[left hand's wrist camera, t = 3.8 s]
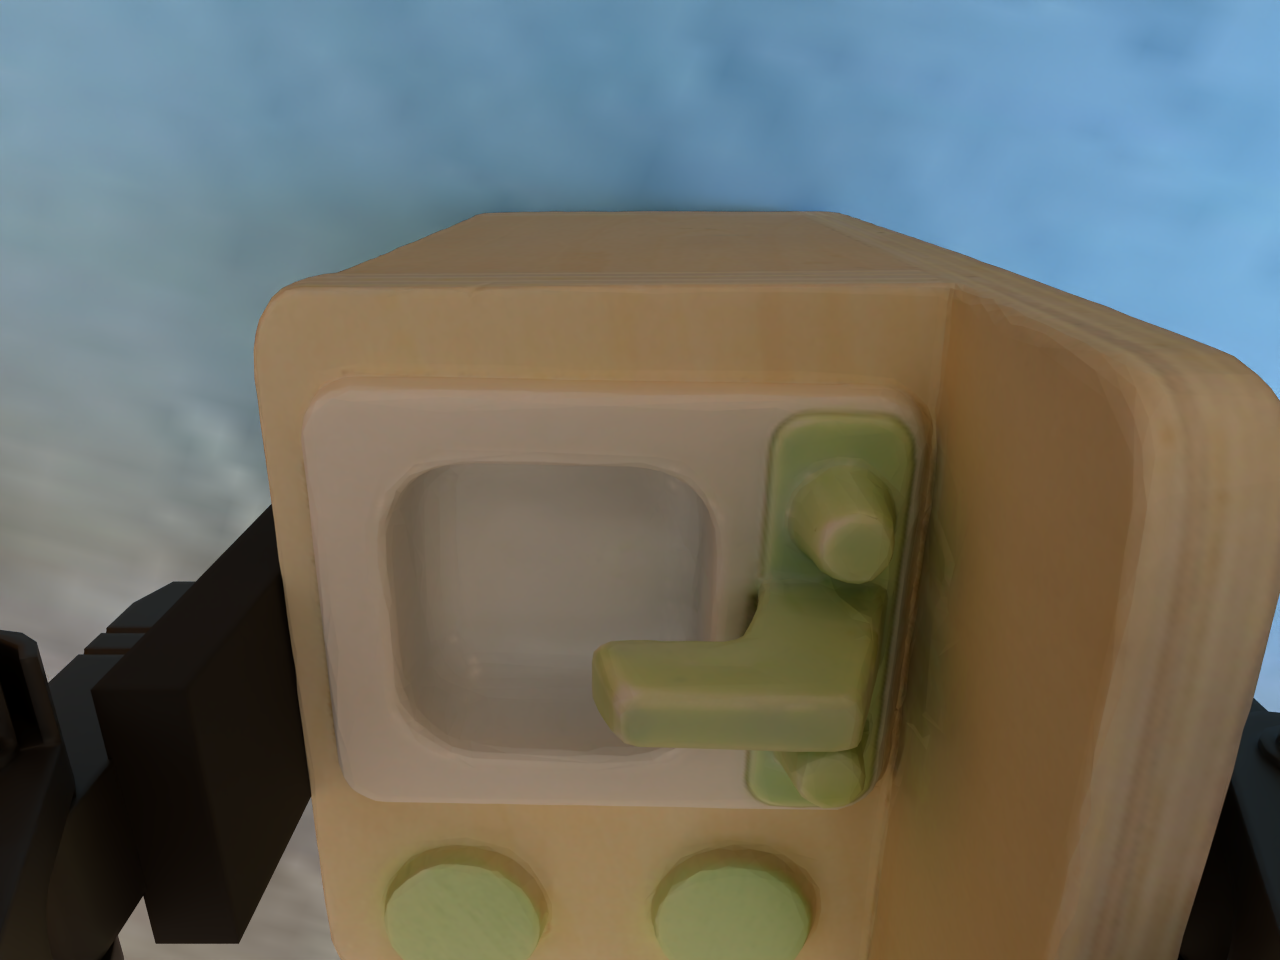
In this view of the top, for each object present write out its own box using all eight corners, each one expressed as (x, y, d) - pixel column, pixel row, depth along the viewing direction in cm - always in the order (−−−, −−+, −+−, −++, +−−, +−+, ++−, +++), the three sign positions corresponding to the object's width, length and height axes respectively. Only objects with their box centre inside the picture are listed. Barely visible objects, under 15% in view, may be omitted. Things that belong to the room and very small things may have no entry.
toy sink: (441, 198, 17) (-94, 394, 5) (839, 198, 17) (1370, 396, 5) (472, 607, 20) (202, 1374, 8) (808, 607, 20) (1074, 1374, 8)
